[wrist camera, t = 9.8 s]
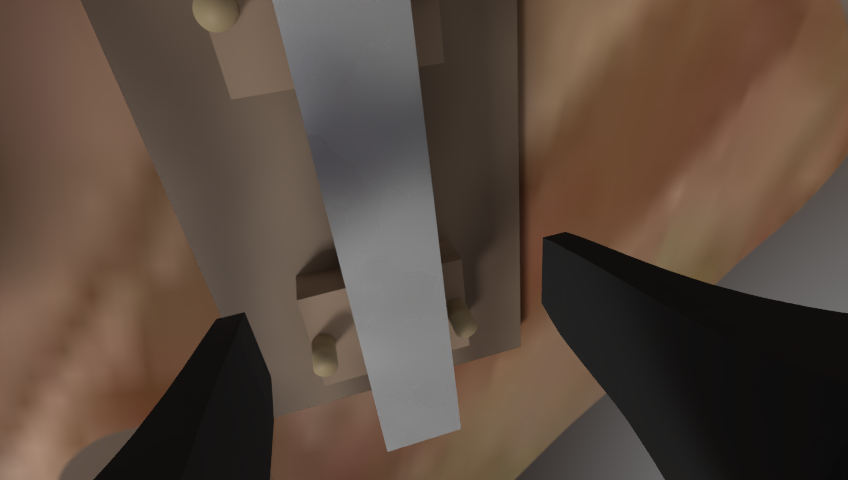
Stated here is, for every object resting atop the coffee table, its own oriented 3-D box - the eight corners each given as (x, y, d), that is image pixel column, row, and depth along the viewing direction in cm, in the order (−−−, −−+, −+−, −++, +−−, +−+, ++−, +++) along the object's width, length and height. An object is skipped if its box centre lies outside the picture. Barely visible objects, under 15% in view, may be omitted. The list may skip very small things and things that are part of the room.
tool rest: (268, 401, 25) (265, 478, 21) (7, -205, 12) (-117, -288, 8) (511, 332, 27) (549, 390, 23) (498, -236, 15) (574, -312, 11)
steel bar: (425, 340, 21) (460, 428, 17) (366, 356, 21) (387, 451, 17) (361, -75, 13) (398, -101, 9) (261, -63, 13) (250, -85, 8)
